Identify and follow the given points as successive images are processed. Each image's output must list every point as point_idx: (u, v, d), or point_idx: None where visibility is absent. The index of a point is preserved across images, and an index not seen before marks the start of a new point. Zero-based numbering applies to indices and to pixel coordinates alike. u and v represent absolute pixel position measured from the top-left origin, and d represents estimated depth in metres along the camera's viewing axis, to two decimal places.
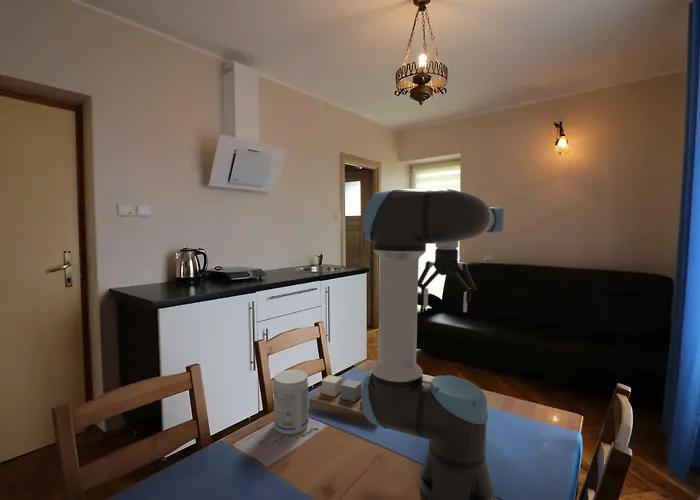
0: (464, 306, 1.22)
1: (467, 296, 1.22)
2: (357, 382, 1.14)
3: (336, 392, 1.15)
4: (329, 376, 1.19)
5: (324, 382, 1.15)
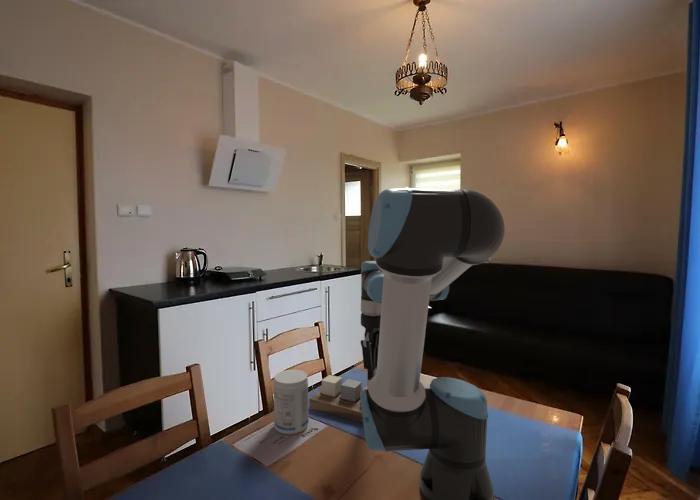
0: None
1: None
2: (357, 382, 1.14)
3: (336, 392, 1.15)
4: (329, 376, 1.19)
5: (324, 382, 1.15)
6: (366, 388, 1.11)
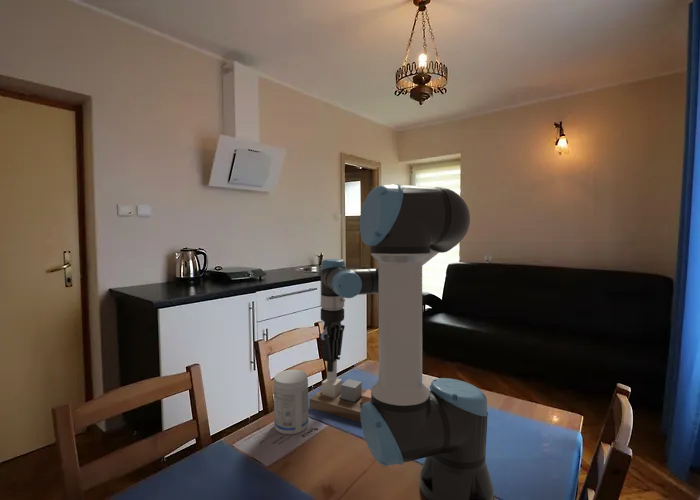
0: None
1: None
2: (357, 382, 1.14)
3: (336, 394, 1.15)
4: None
5: (324, 384, 1.15)
6: (366, 392, 1.11)
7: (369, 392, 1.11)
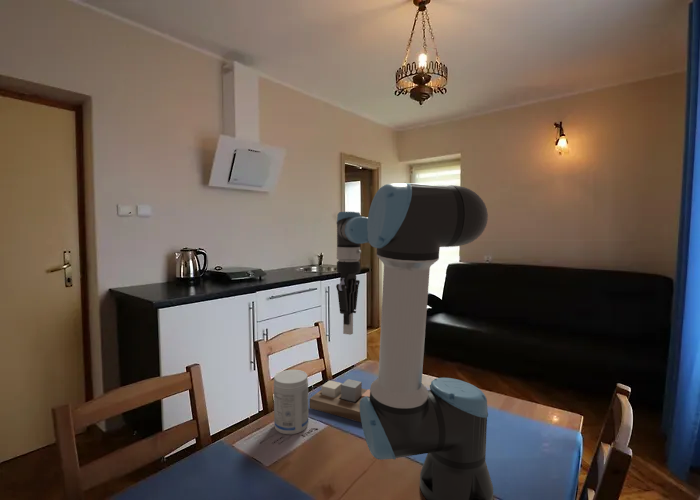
0: None
1: None
2: (357, 382, 1.14)
3: None
4: (329, 382, 1.19)
5: (324, 388, 1.15)
6: (366, 392, 1.11)
7: (369, 392, 1.11)
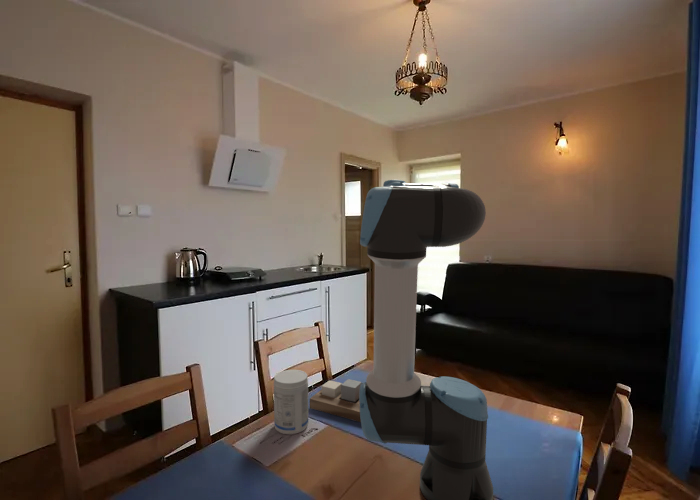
0: None
1: None
2: (357, 382, 1.14)
3: None
4: (329, 382, 1.19)
5: (324, 388, 1.15)
6: None
7: None
